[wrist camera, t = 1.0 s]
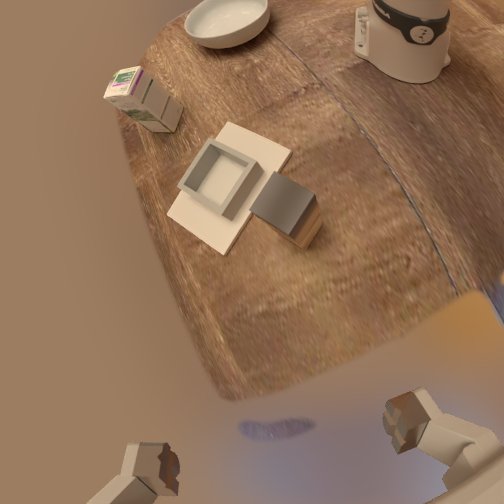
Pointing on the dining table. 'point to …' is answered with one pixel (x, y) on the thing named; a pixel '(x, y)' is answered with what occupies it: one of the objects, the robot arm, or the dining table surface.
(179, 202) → the caddy
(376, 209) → the dining table surface
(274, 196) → the tool handle
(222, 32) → the cereal bowl
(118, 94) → the syrup box
